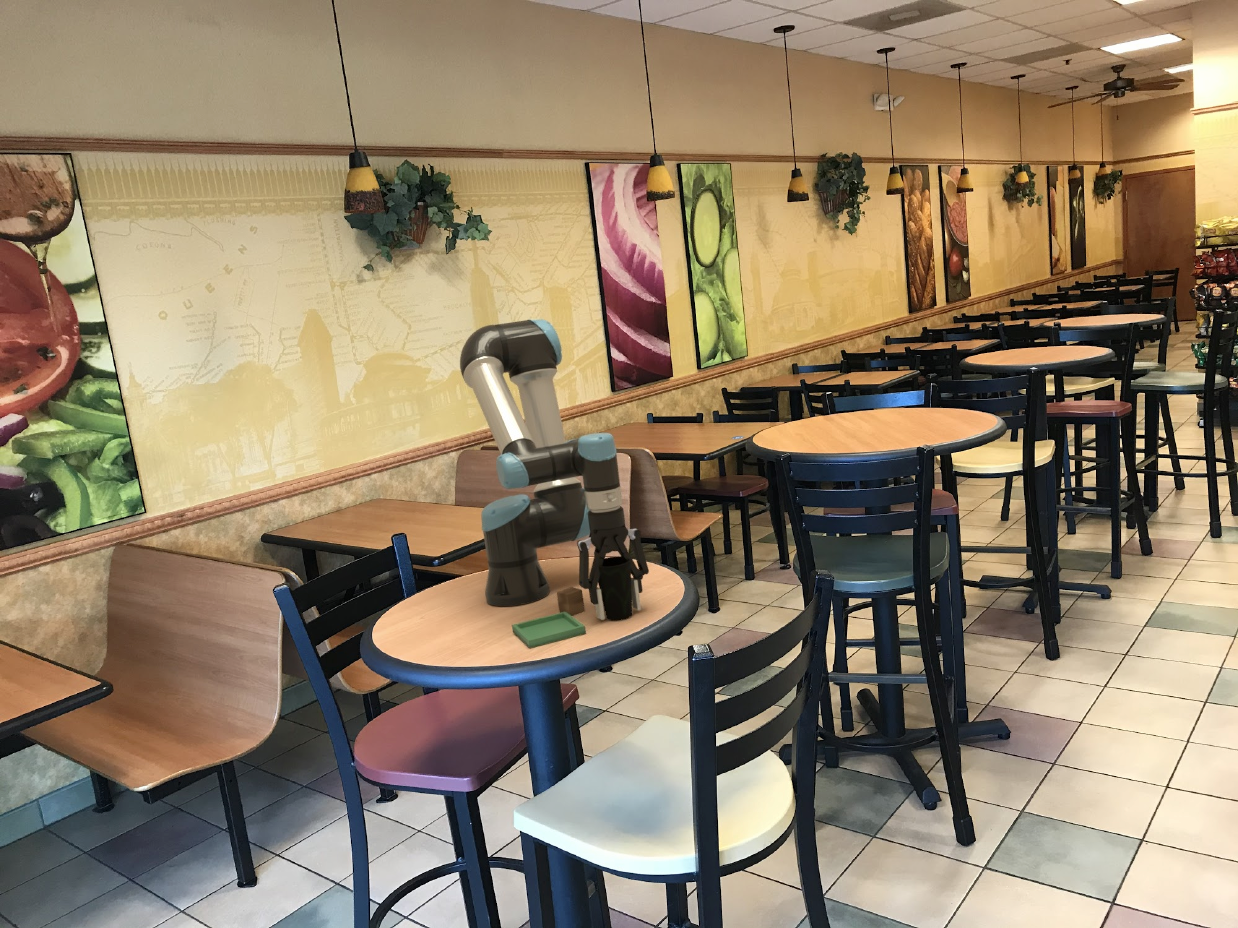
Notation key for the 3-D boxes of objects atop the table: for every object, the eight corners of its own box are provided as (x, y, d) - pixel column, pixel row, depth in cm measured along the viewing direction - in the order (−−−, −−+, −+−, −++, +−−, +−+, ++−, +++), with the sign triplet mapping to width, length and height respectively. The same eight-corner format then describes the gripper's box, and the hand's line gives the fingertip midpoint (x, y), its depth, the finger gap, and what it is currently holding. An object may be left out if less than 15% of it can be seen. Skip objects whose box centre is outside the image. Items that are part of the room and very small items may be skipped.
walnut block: (559, 613, 205) (556, 591, 204) (574, 608, 207) (571, 586, 206) (570, 617, 201) (566, 594, 201) (585, 611, 204) (582, 589, 203)
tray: (512, 632, 196) (511, 624, 196) (566, 618, 201) (565, 611, 200) (529, 648, 185) (528, 640, 185) (586, 633, 190) (585, 625, 189)
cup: (633, 621, 193) (626, 565, 191) (597, 623, 195) (590, 568, 193) (640, 609, 200) (633, 555, 199) (605, 610, 202) (598, 557, 200)
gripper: (564, 520, 187) (580, 629, 190) (657, 501, 194) (670, 605, 198) (552, 515, 193) (567, 620, 197) (642, 496, 201) (655, 597, 205)
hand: (618, 612), depth 197 cm, fingers closed on cup, 8 cm apart
